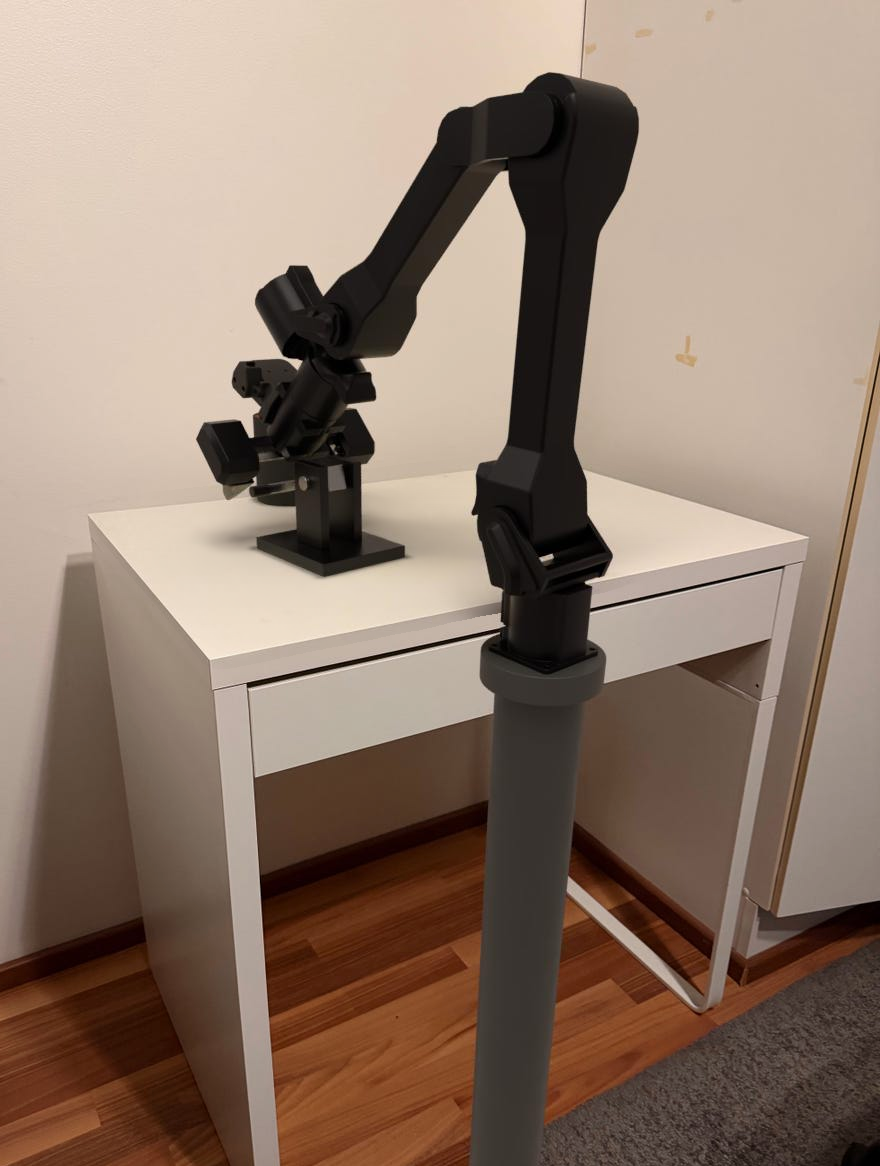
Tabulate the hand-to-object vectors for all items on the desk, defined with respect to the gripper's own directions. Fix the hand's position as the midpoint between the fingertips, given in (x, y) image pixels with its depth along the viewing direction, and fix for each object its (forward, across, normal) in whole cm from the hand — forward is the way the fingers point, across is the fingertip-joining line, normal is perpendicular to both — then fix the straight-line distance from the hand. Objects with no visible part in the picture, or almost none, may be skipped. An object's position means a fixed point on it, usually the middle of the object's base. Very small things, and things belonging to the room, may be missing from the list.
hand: (263, 490), depth 96 cm
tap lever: (-6, 0, +5) cm, 8 cm away
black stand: (-6, 0, +12) cm, 13 cm away
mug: (+9, -11, -3) cm, 15 cm away
